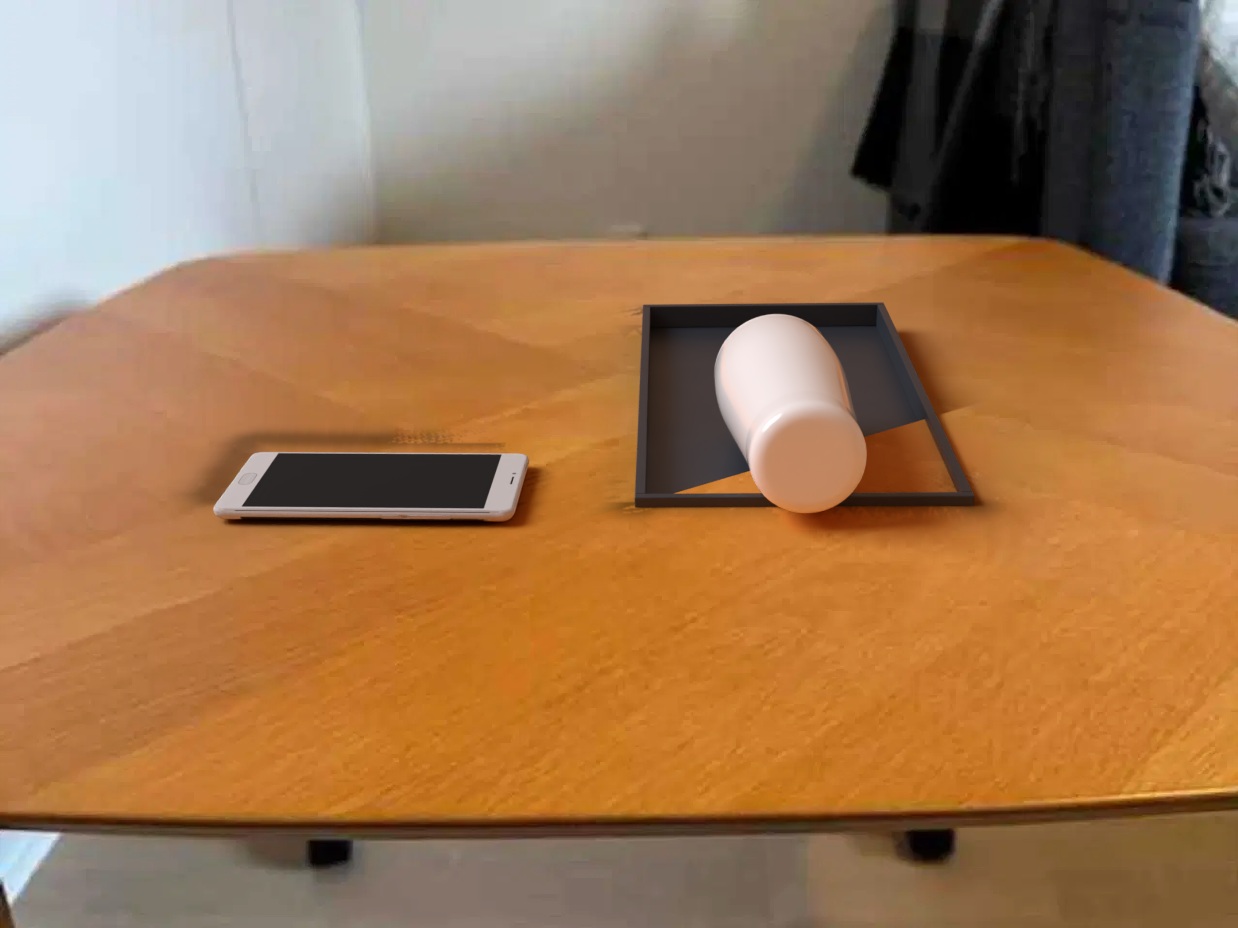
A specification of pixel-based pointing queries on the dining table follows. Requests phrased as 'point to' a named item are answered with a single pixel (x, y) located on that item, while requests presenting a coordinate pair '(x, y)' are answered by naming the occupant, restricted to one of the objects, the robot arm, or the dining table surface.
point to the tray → (694, 428)
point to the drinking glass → (790, 412)
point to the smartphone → (376, 486)
